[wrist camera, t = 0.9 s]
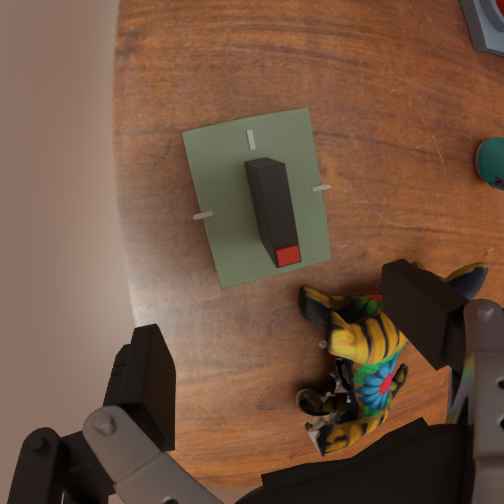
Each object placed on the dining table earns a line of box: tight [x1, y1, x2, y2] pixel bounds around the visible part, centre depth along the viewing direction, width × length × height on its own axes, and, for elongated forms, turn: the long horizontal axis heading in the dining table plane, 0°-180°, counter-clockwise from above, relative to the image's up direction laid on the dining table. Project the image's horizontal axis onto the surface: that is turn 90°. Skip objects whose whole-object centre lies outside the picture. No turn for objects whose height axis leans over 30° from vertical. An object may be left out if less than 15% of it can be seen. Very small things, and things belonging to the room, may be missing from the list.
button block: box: [460, 0, 504, 57], centre depth 19 cm, size 12×9×4 cm
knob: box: [244, 157, 302, 268], centre depth 20 cm, size 6×2×5 cm, turn 12°
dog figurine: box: [296, 261, 488, 457], centre depth 28 cm, size 20×12×18 cm
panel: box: [181, 107, 331, 289], centre depth 24 cm, size 12×10×3 cm
